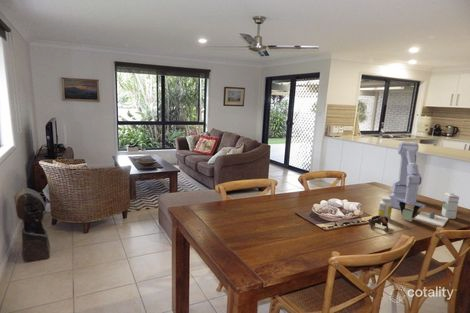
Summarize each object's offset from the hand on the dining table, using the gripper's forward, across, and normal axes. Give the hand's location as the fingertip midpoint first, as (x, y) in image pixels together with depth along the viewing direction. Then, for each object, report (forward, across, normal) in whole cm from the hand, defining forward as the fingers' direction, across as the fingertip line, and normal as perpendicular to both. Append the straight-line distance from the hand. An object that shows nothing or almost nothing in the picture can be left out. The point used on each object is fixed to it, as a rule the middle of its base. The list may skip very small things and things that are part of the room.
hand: (407, 216), depth 171 cm
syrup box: (+2, +16, +25) cm, 30 cm away
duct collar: (+2, 0, 0) cm, 2 cm away
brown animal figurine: (+2, -7, -27) cm, 28 cm away
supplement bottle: (+2, -10, -10) cm, 14 cm away
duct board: (+2, +10, +11) cm, 15 cm away
